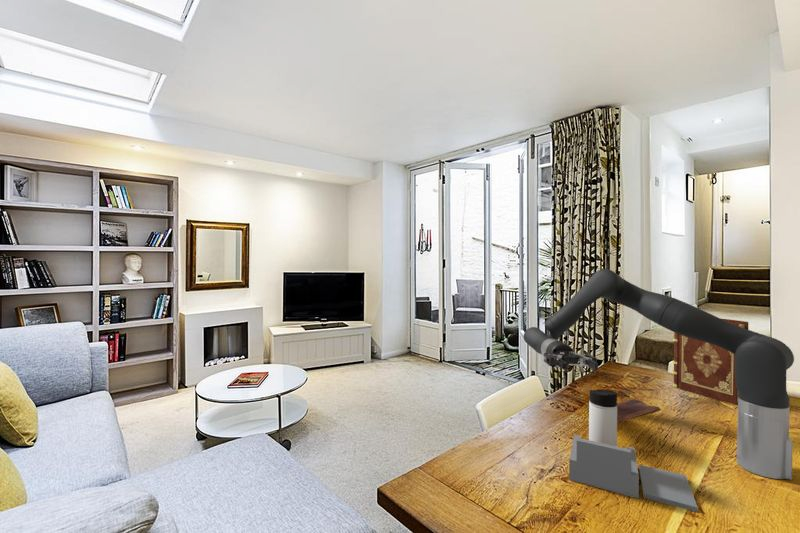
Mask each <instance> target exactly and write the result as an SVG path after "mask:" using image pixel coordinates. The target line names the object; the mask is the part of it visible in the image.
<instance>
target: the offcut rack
mask: <svg viewBox="0 0 800 533" xmlns="http://www.w3.org/2000/svg"><path fill="white" fill-rule="evenodd" d="M638 470H639V467H638V462H637V454H636V449H635V447H631V446H627V448H625V447H620V446H618V445H617V446H612V445H608V444H603V443H599V442H594V441H590V440H589V439H585V438H581V436H580V435H577V434H574V435H573V438H572V445H571V449H570V456H569V472H568V474H569V478H568V479H569V481H572V482H576V483H579V484H580V483H581V484H583V485H586V486H591V487H595V488H599V489H602V490H605V491H609V492H613V493H617V494H619V495H620V494H621V495H624V496H627V497H631V498H635V499H637V500H638V499H639V498H640V497H639V494H640V493H639V492H640V491H639V489H640V488H639V487H640V486H639V484H640V483H639V482H640V481H639V480H640V478H639V477H640V474H639V471H638Z"/></svg>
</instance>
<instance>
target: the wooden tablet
mask: <svg viewBox="0 0 800 533" xmlns="http://www.w3.org/2000/svg"><path fill="white" fill-rule="evenodd" d="M659 410H660V407H658V406H656V405H648V404H647V403H645V402H644V401H642V400H639V399H636V398H632V399H628V400H627V399H626V400H624V401H623V400H622V401H620V402H617V423H618V422H624V421H628V420H631V419H633V418H636V417H639V416H643V415H646V414H649V413H650V414H651V413H654V412H656V411H659Z"/></svg>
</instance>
